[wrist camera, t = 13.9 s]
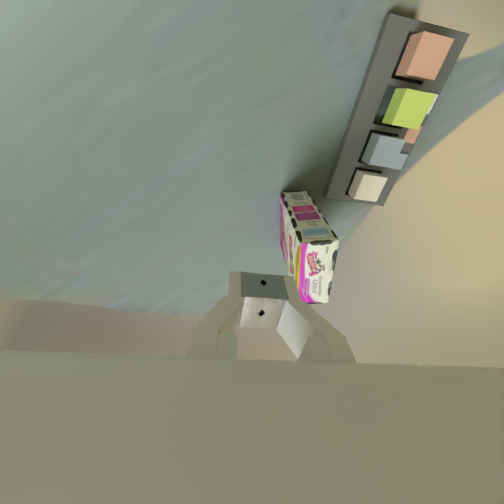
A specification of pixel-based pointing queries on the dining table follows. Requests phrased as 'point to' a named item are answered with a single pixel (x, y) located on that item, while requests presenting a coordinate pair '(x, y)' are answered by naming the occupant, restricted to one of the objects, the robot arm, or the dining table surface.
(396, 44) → the keypad board
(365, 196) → the key ivory
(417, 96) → the lime green cube
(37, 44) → the dining table surface
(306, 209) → the candy bar box
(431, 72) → the salmon cube
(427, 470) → the robot arm
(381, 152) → the key slate
